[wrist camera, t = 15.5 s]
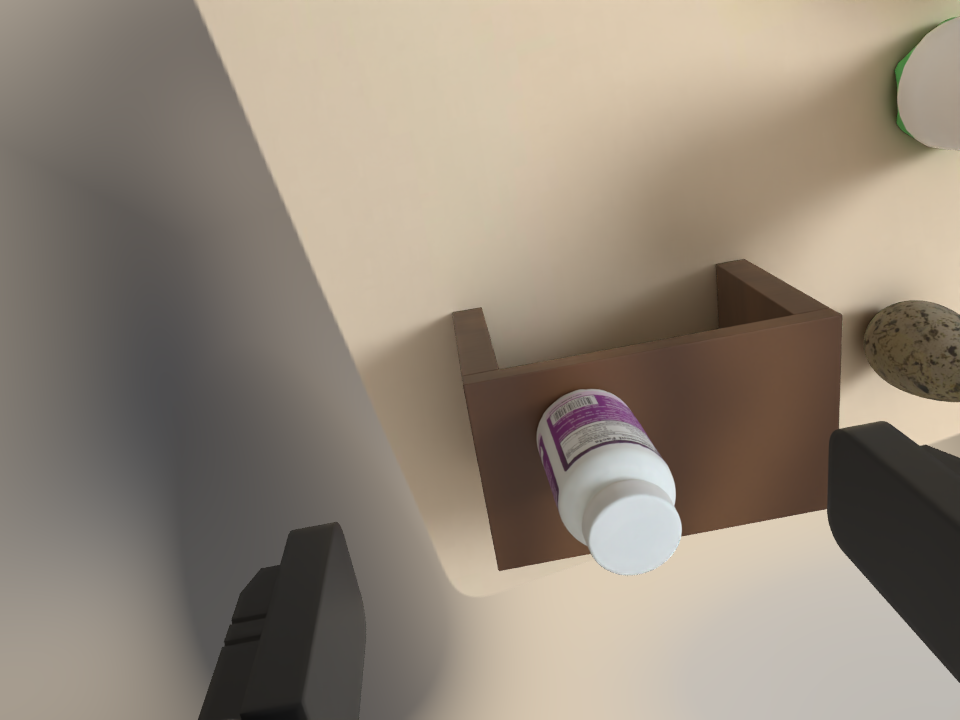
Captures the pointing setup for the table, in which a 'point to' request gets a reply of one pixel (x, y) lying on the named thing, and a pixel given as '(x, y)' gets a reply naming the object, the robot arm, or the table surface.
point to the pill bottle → (609, 481)
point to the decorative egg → (917, 349)
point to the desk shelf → (672, 414)
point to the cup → (932, 88)
